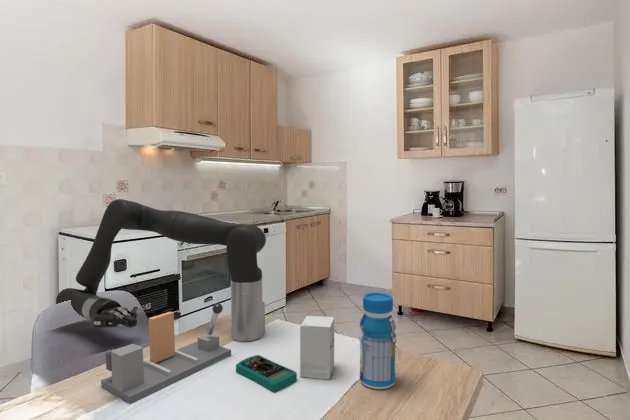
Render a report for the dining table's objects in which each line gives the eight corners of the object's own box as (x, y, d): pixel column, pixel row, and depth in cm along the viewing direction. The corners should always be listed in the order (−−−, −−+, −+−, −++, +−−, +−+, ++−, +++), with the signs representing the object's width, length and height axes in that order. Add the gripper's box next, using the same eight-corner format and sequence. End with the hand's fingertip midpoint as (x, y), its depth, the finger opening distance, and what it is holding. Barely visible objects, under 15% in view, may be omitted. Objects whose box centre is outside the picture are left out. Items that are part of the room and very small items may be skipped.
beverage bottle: (372, 394, 85) (372, 303, 84) (352, 376, 93) (352, 293, 91) (403, 385, 89) (404, 298, 87) (381, 369, 96) (382, 289, 95)
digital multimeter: (257, 363, 101) (257, 351, 101) (298, 382, 91) (298, 370, 91) (233, 373, 96) (233, 361, 96) (274, 395, 86) (274, 382, 86)
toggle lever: (210, 330, 107) (219, 300, 104) (215, 335, 106) (225, 306, 103) (202, 333, 105) (211, 302, 102) (208, 339, 104) (218, 308, 101)
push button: (122, 362, 91) (121, 347, 91) (126, 365, 90) (125, 349, 90) (106, 368, 89) (105, 353, 88) (110, 371, 87) (110, 355, 87)
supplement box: (330, 380, 91) (330, 327, 90) (299, 377, 93) (299, 325, 92) (335, 365, 99) (335, 316, 98) (306, 363, 100) (306, 314, 99)
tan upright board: (171, 353, 102) (170, 311, 101) (175, 354, 101) (173, 312, 100) (150, 361, 97) (148, 318, 96) (153, 363, 96) (152, 319, 95)
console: (201, 344, 112) (201, 311, 111) (231, 355, 105) (230, 320, 104) (101, 386, 89) (99, 345, 88) (130, 403, 82) (128, 359, 81)
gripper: (77, 303, 110) (108, 316, 100) (123, 292, 121) (155, 303, 111) (78, 329, 111) (109, 345, 101) (123, 316, 121) (156, 329, 111)
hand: (133, 323), depth 106 cm, fingers closed
